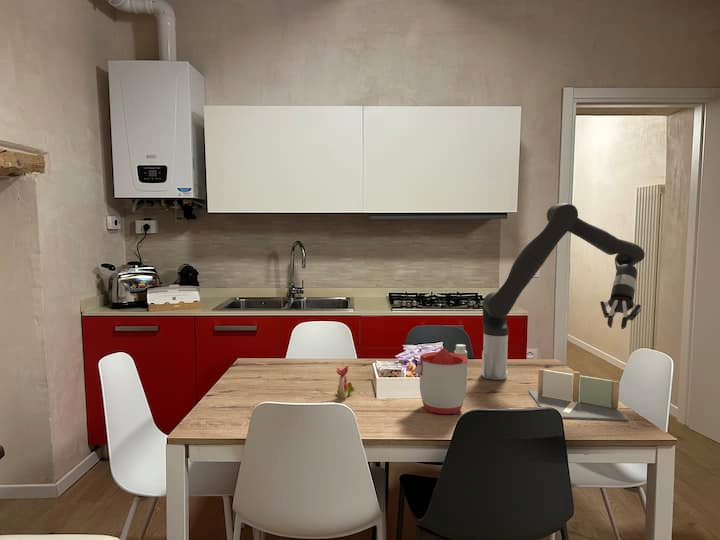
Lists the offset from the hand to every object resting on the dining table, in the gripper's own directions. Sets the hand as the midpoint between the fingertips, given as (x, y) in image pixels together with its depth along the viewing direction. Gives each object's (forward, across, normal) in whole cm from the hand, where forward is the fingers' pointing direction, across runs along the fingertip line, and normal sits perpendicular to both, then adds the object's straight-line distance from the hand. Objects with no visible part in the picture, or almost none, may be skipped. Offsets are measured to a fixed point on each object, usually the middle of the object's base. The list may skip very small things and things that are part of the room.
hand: (616, 326), depth 184 cm
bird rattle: (+59, -75, -25) cm, 99 cm away
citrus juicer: (+53, -43, -19) cm, 71 cm away
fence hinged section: (+30, -1, +3) cm, 30 cm away
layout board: (+32, -8, +2) cm, 33 cm away
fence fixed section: (+30, -14, +3) cm, 33 cm away
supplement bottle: (+18, -58, +16) cm, 63 cm away
